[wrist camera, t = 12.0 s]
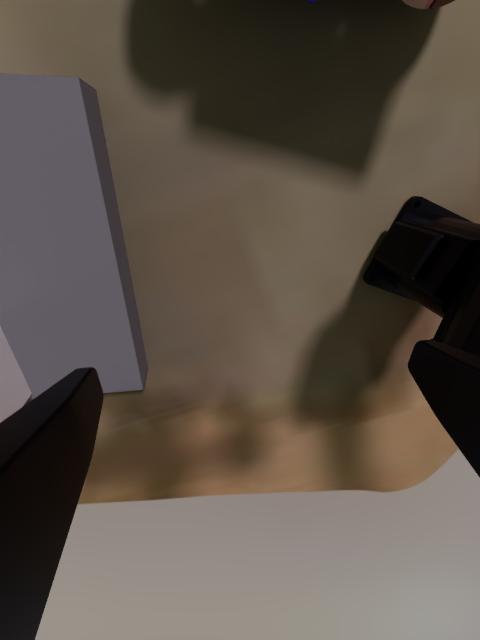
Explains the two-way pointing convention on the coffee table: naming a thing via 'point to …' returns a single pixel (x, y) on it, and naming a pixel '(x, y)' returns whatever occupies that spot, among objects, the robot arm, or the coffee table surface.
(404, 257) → the robot arm
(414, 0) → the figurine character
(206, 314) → the coffee table surface
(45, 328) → the socket plate
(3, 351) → the pale grey block
